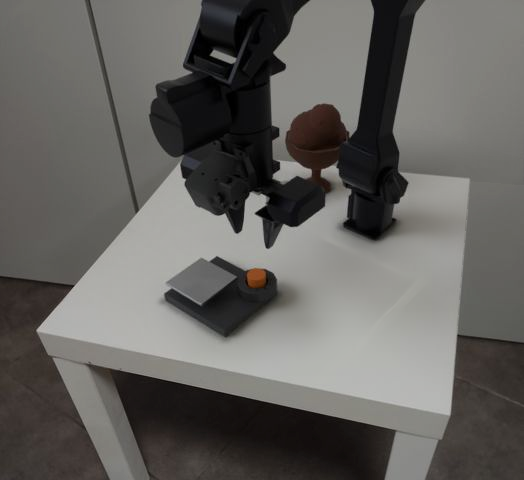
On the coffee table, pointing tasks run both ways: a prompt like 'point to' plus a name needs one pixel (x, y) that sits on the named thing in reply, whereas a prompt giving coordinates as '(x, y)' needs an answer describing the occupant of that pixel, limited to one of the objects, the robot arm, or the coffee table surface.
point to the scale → (227, 300)
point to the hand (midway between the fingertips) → (253, 239)
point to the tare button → (256, 278)
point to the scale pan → (201, 281)
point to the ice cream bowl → (317, 140)
